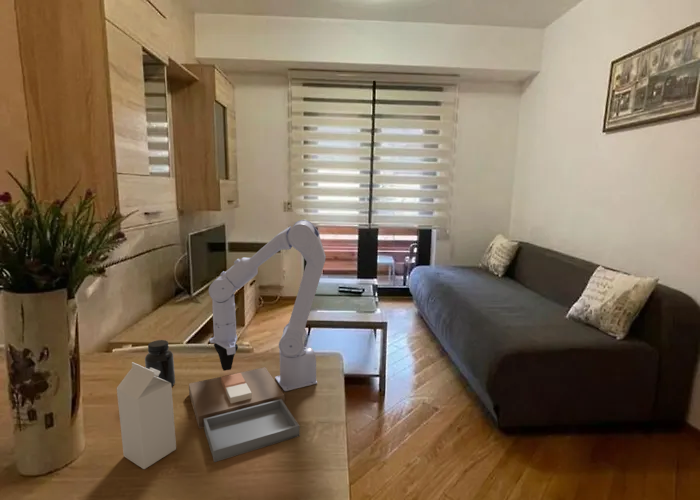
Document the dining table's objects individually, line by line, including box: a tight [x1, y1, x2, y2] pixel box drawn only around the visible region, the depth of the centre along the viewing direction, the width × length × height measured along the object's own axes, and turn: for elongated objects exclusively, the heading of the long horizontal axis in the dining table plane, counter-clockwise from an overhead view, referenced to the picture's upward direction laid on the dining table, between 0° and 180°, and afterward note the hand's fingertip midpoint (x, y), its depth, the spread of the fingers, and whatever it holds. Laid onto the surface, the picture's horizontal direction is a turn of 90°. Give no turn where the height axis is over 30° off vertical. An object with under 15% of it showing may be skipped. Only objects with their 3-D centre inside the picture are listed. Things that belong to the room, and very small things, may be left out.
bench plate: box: [188, 366, 286, 429], centre depth 104 cm, size 20×16×3 cm
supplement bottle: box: [144, 339, 176, 387], centre depth 109 cm, size 7×7×12 cm
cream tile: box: [226, 383, 252, 403], centre depth 100 cm, size 5×5×2 cm
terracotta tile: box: [220, 372, 245, 391], centre depth 105 cm, size 5×5×2 cm
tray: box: [203, 399, 301, 463], centre depth 91 cm, size 18×12×2 cm, turn 118°
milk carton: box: [116, 361, 177, 470], centre depth 82 cm, size 7×7×19 cm
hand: (226, 369), depth 112 cm, fingers closed
